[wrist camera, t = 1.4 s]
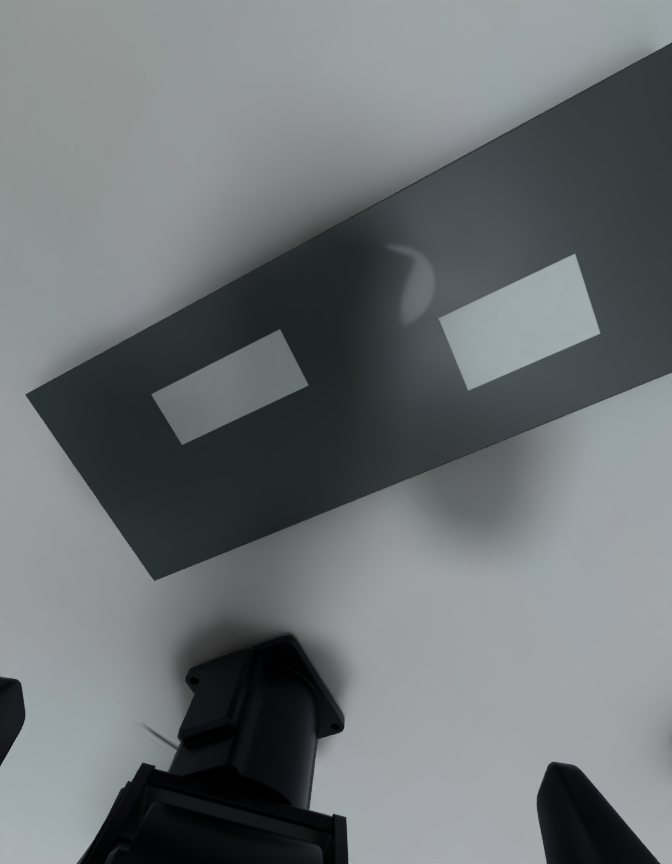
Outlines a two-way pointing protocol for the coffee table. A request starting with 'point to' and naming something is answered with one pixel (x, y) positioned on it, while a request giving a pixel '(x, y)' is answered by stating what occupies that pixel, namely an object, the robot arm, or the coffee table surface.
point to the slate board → (393, 335)
